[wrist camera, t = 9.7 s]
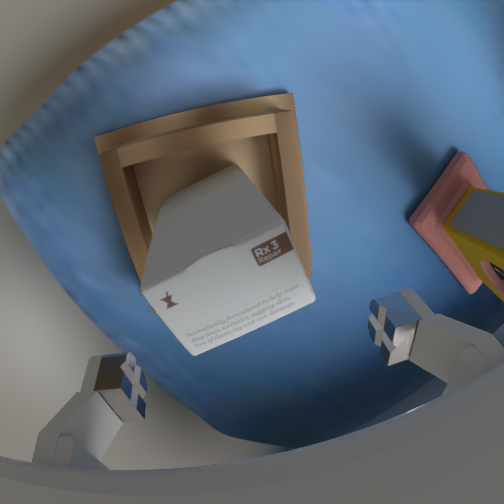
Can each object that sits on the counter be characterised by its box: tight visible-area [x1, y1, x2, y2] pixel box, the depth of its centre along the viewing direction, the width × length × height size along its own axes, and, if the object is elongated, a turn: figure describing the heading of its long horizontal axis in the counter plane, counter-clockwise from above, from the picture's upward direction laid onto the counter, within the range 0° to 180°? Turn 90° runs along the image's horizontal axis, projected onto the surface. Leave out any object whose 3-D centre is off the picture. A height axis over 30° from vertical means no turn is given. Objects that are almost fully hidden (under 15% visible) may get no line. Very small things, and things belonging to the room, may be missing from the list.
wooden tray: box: [94, 93, 312, 313], centre depth 22 cm, size 14×14×4 cm
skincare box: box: [140, 164, 316, 356], centre depth 17 cm, size 6×4×12 cm
